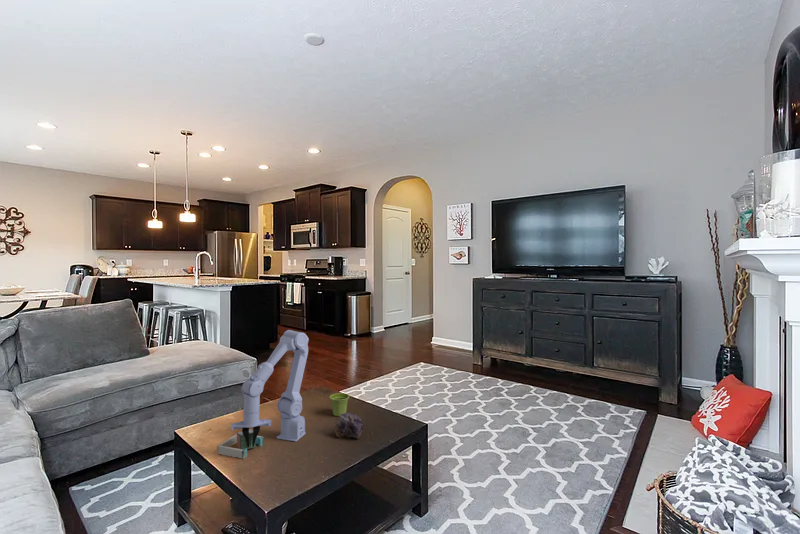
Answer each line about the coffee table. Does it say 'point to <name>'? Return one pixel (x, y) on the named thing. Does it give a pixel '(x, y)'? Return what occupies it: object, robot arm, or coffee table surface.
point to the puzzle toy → (244, 440)
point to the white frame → (235, 452)
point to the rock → (349, 426)
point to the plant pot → (339, 403)
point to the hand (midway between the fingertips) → (250, 446)
